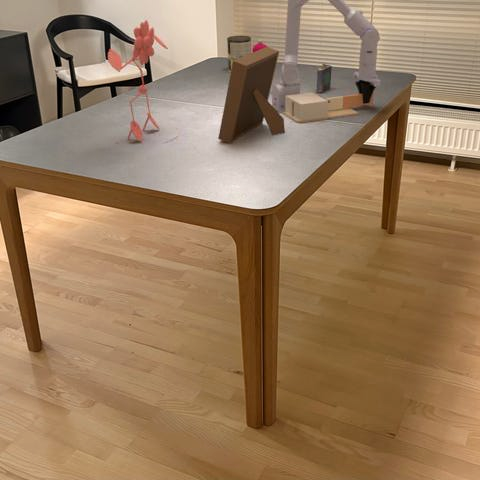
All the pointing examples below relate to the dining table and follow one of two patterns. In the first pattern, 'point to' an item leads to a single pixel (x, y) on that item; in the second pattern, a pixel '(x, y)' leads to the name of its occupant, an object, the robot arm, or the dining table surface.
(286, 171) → the dining table surface
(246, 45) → the coffee can
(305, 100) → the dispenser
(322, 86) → the flask
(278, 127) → the photo frame
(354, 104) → the long copper stick
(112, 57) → the pink stick figure
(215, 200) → the dining table surface
